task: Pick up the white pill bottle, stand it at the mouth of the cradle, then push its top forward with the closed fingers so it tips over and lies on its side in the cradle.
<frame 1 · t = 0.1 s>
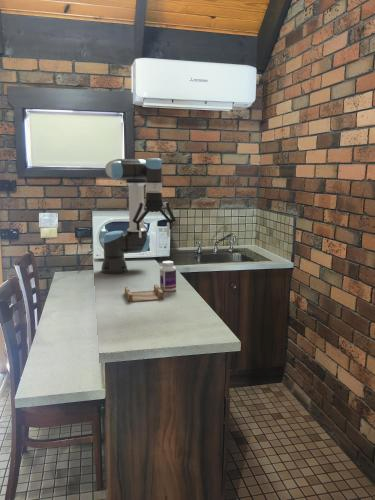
hand: (154, 236, 203), 28 cm above the countertop, fingers open, 13 cm apart
pill bottle: (168, 290, 213), on the countertop
cradle: (143, 296, 202), on the countertop
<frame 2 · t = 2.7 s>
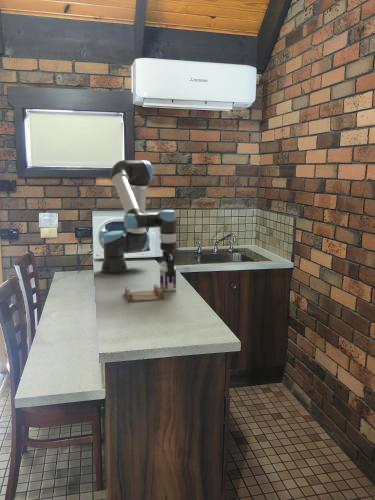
hand: (168, 286, 213), 2 cm above the countertop, fingers closed on pill bottle, 8 cm apart
pill bottle: (168, 290, 213), on the countertop, touching gripper
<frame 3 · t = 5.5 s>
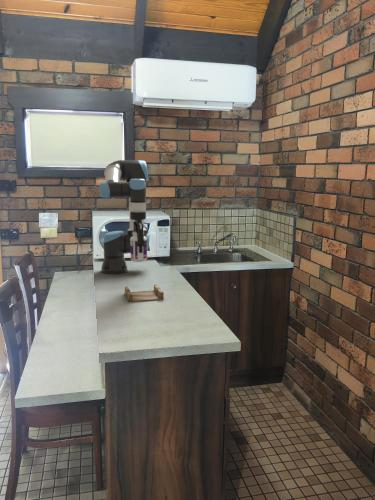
hand: (138, 257, 209), 17 cm above the countertop, fingers closed on pill bottle, 8 cm apart
pill bottle: (138, 261, 210), point 15 cm above the countertop, touching gripper
when the fingers open (3 cm above the countertop, at t = 8.4 s): pill bottle stays where it is, on the countertop.
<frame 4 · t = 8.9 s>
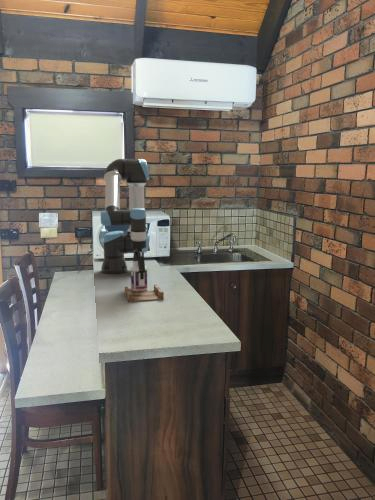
hand: (139, 281, 212), 4 cm above the countertop, fingers open, 13 cm apart
pill bottle: (139, 290, 213), on the countertop
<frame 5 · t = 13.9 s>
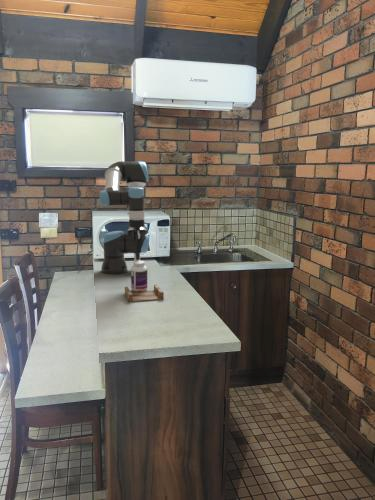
hand: (137, 265, 214), 12 cm above the countertop, fingers closed
pill bottle: (139, 289, 213), on the countertop, touching gripper
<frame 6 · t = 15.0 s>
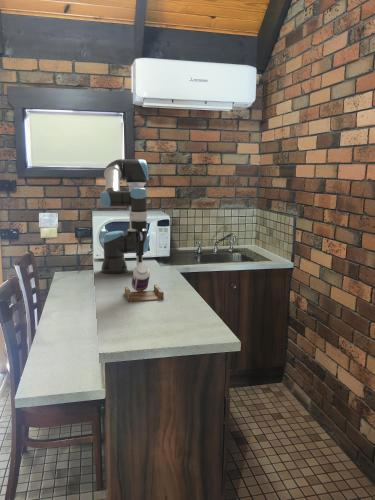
hand: (139, 268, 208), 12 cm above the countertop, fingers closed
pill bottle: (139, 285, 212), point 2 cm above the countertop, touching gripper
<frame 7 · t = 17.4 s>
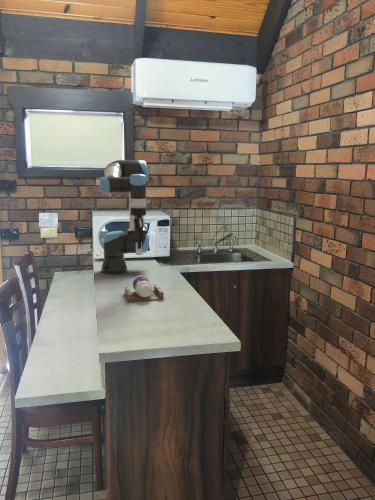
hand: (139, 254, 209), 18 cm above the countertop, fingers closed
pill bottle: (140, 282, 208), point 5 cm above the countertop, touching cradle
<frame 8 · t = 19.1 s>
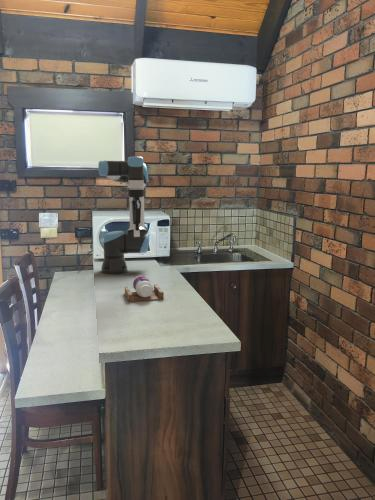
hand: (136, 236, 212), 26 cm above the countertop, fingers closed
nothing on the countertop moved.
at the end: pill bottle tilted 90°; pill bottle inside the target area (8.0 cm from its centre), point 4.6 cm above the countertop; the gripper is holding nothing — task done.
